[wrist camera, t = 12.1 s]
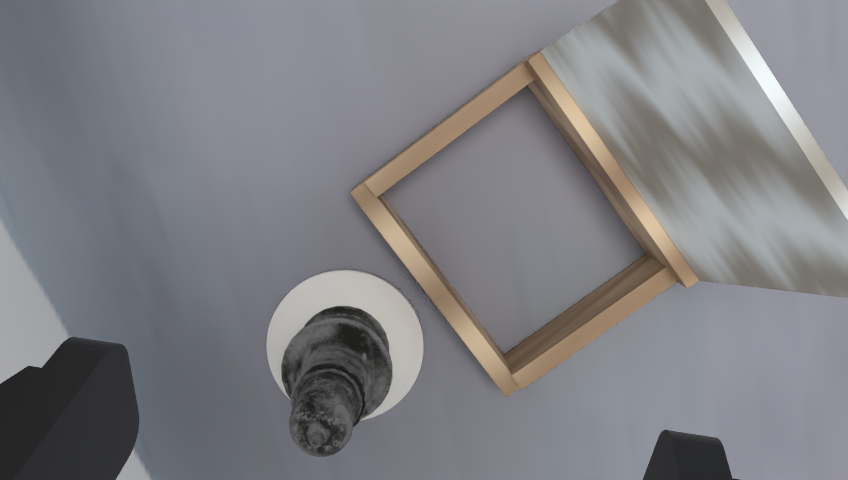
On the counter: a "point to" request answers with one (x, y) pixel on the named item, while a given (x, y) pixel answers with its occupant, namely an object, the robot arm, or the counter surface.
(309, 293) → the saucer
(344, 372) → the grey tall domed piece
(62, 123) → the counter surface
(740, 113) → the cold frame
